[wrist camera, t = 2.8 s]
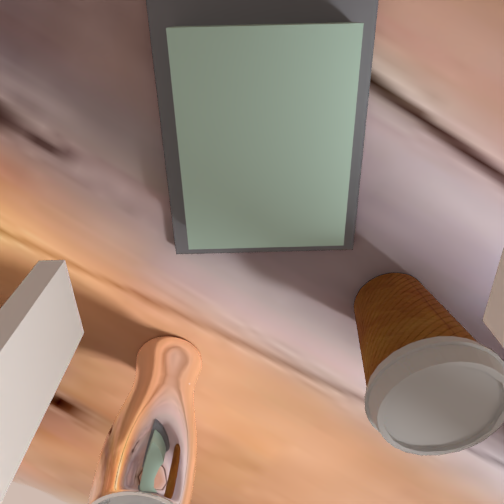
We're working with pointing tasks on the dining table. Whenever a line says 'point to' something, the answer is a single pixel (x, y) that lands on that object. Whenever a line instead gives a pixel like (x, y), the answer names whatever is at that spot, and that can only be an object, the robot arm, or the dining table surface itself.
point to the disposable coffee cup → (424, 370)
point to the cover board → (265, 131)
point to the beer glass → (153, 431)
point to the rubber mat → (247, 13)
